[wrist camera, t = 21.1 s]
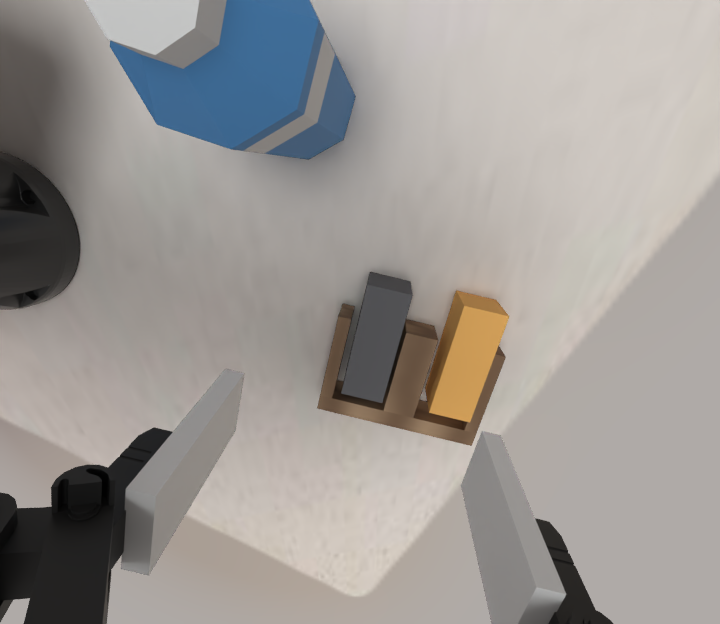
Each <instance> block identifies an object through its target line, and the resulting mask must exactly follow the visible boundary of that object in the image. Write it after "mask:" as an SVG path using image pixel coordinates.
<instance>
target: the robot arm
mask: <svg viewBox="0 0 720 624" xmlns="http://www.w3.org/2000/svg"><path fill="white" fill-rule="evenodd" d="M78 258H79V239H78V233H77V229H76V225H75V222H74V219H73V216H72V214H71V212H70V210H69V208H68V206H67V204H66V202H65V201H64V199H63V198H62V196H61V195H60V193H59V192H58V191H57V189H56V188H55V187H54V186H53V185H52V184H51V182H50V181H49V180H48V179H47V178H46V177H44V176H43V175H42V174H41V173H40V172H39V171H37V170H36V169H35V168H33V167H32V166H30V165H29V164H27V163H26V162H24V161H22V160H20V159H18V158H16V157H13V156H11V155H8V154H5V153H1V152H0V310H12V309H20V308H25V307H29V306H32V305H35V304H38V303H40V302H43V301H46V300H48V299H50V298H52V297H54V296H56V295H57V294H59V293H60V292H61V291H62V290H63V289H64V288H65V287H66V286H67V285H68V284H69V282H70V281H71V279H72V277H73V275H74V273H75V271H76V267H77V264H78ZM243 380H244V373H242V372H237V371H233V370H229V369H225V370H224V371H223V372H222V374H221V375H220V376H219V377H218V378H217V380H216V381H215V382H214V383H213V384H212V386H211V387H210V388H209V389H208V390H207V392H206V393H205V394H204V395H203V396H202V398H201V399H200V400H199V401H198V402H197V404H196V405H195V406H194V407H193V408H192V410H191V411H190V412H189V413H188V414H187V416H186V417H185V418H184V419H183V420H182V422H181V423H180V424H179V425H178V426H177V428H176V429H175V430H174V431H173V432H171V431H167V430H162V429H158V428H152V429H150V430H148V431H146V432H144V433H143V434H141V435H139V436H138V437H137V438H136V439H135V440H134V441H133V442H132V443H131V444H130V445H129V447H128V449H126V450H125V451H124V452H123V453H122V454H121V455H120V457H118V458H117V459H116V460H115V461H114V462H113V463H112V464H111V465H110V466H109V467H108V468H107V467H104V466H101V465H84V466H79V467H75V468H73V469H71V470H69V471H66V472H64V473H63V474H62V475H61V476H59V477H58V478H57V479H56V480H55V482H54V484H53V485H52V487H51V494H52V495H51V496H52V497H51V499H52V507H45V508H17V505H16V501H15V499H14V498H13V497H12V496H10V495H9V494H5V493H0V622H1V620H2V618H3V617H4V615H5V613H6V611H7V610H8V608H9V606H10V604H11V602H12V601H13V600H14V599H25V598H30V601H29V605H28V609H27V613H26V617H25V621H24V624H106V623H107V613H108V603H109V592H110V582H111V569H112V568H113V566H114V565H115V563H116V562H117V561H118V559H119V558H120V556H121V555H122V562H121V569H124V570H128V571H132V572H136V573H140V574H144V575H150V573H151V571H152V569H153V568H154V566H155V564H156V563H157V561H158V559H159V558H160V556H161V554H162V553H163V551H164V549H165V548H166V546H167V544H168V543H169V541H170V539H171V538H172V536H173V534H174V533H175V531H176V529H177V528H178V526H179V524H180V523H181V521H182V519H183V518H184V516H185V514H186V513H187V511H188V509H189V508H190V506H191V504H192V503H193V501H194V499H195V498H196V496H197V494H198V492H199V491H200V489H201V487H202V486H203V484H204V482H205V481H206V479H207V477H208V476H209V474H210V472H211V471H212V469H213V467H214V466H215V464H216V462H217V461H218V459H219V457H220V456H221V454H222V452H223V451H224V449H225V447H226V446H227V444H228V442H229V441H230V439H231V437H232V436H233V434H234V432H235V430H236V424H237V417H238V411H239V405H240V398H241V392H242V386H243ZM461 488H462V492H463V497H464V501H465V506H466V510H467V515H468V519H469V523H470V528H471V533H472V538H473V541H474V547H475V551H476V555H477V560H478V565H479V569H480V574H481V578H482V583H483V587H484V591H485V596H486V601H487V605H488V609H489V614H490V619H491V623H492V624H613V623H612V622H611V621H610V620H609V619H608V618H607V617H605V616H604V615H603V614H602V613H600V612H598V611H596V610H595V608H594V606H593V604H592V601H591V599H590V597H589V595H588V593H587V590H586V589H585V586H584V584H583V582H582V580H581V578H580V575H579V573H578V571H577V569H576V567H575V566H574V565H573V564H574V563H573V560H572V558H571V556H570V554H568V550H567V547H566V545H565V543H564V541H563V539H562V537H561V535H560V534H559V533H558V532H557V530H556V529H555V528H554V527H553V526H552V525H551V524H550V522H547V521H543V520H540V519H535V517H534V515H533V512H532V510H531V507H530V505H529V503H528V500H527V498H526V495H525V493H524V491H523V488H522V486H521V483H520V481H519V478H518V476H517V474H516V471H515V469H514V466H513V464H512V462H511V459H510V457H509V454H508V452H507V449H506V447H505V445H504V442H503V440H502V437H501V435H497V434H493V433H488V432H484V431H482V433H481V435H480V438H479V440H478V443H477V445H476V448H475V450H474V453H473V456H472V458H471V461H470V463H469V466H468V468H467V471H466V474H465V476H464V479H463V481H462V484H461Z"/></svg>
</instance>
